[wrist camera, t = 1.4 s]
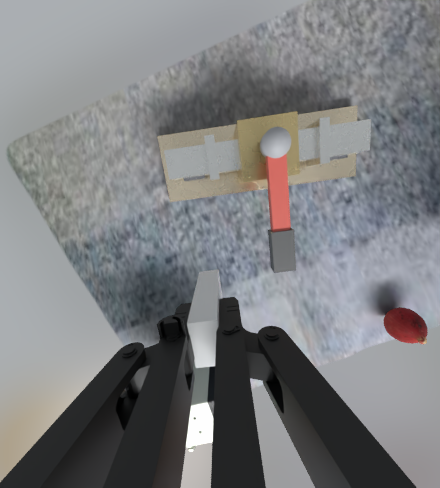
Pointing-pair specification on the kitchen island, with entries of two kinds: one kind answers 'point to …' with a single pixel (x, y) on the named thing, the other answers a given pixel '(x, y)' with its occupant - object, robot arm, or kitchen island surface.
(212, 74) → the kitchen island surface
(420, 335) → the onion
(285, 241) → the lever
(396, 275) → the kitchen island surface
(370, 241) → the kitchen island surface
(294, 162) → the valve pipe
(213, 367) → the ball valve
